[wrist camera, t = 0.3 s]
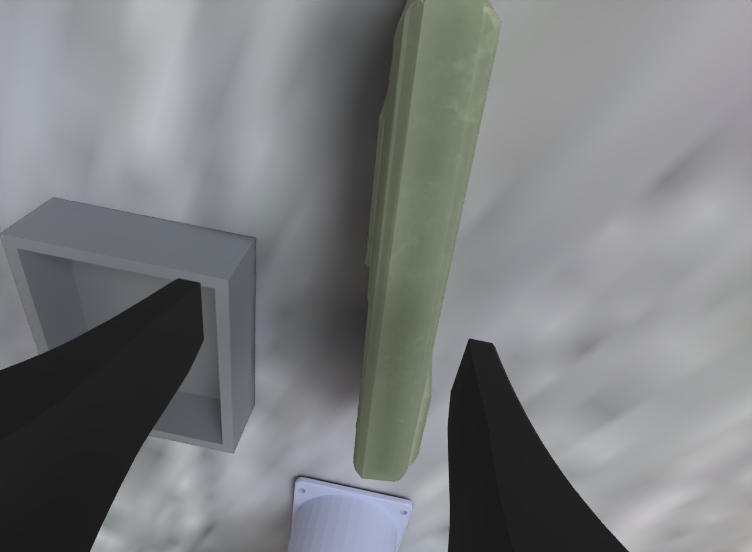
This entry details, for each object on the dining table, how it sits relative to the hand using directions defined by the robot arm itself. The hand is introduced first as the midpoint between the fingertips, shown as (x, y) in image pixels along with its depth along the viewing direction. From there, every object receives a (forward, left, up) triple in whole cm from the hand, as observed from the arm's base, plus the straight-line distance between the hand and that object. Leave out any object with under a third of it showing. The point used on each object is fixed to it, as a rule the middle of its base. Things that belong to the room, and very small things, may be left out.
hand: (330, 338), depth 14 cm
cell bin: (-10, +10, -10) cm, 18 cm away
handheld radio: (+1, -2, -11) cm, 11 cm away
